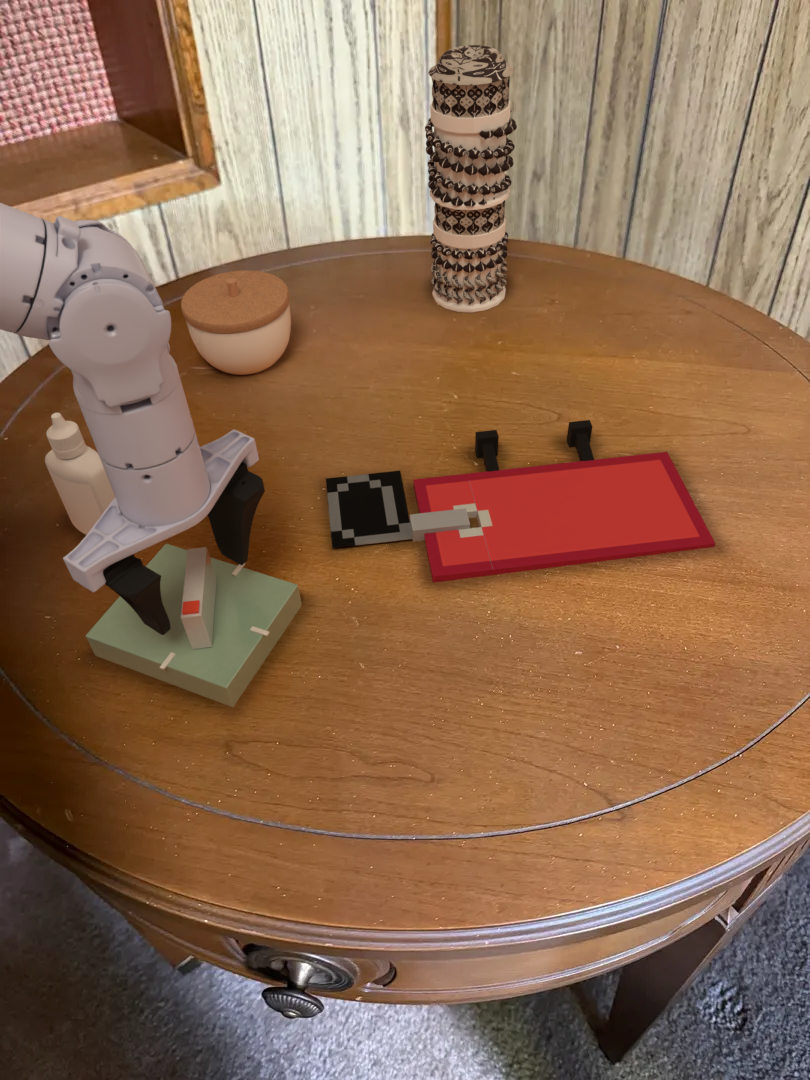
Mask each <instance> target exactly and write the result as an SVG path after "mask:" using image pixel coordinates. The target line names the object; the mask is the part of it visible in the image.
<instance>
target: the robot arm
mask: <svg viewBox="0 0 810 1080" xmlns="http://www.w3.org/2000/svg"><path fill="white" fill-rule="evenodd" d="M0 330H1V331H3V332H7V333H11V334H12V333H13V335H14V334H15V335H19V336H21V337H25V338H30V339H38V340H45V341H48V346H49V348H50V350H51V351H52V353H53V354H54V356H55V357H56V358H57V359H58V361H59V362H60V363H62V364H63V365H64V366H65V367H66V368H68V370H70V371H71V374H72V378H73V379H72V389H73V393H74V397H75V398H76V401H77V404H78V407H79V409H80V411H81V414H82V416H83V419H84V421H85V423H86V426H87V428H88V429H87V430H88V431H89V434H90V436H91V438H92V441H93V444H94V447H95V449H96V452H97V453H98V454H99V457H100V459H101V462H102V464H103V467H104V470H105V472H106V475H107V477H108V480H109V482H110V485H111V487H112V490H113V492H114V495H115V498H114V499H113V500H112V502H111V503H110V504H109V506H108V507H107V508H106V510H105V511H104V512H103V514H102V515H101V516H100V518H99V519H98V520H97V522H96V523H95V524H94V526H93V527H92V528H91V530H90V531H89V532H88V534H87V535H85V536H84V537H83V538H82V540H80V542H79V543H78V544H77V546H75V547H74V548H73V549H72V550H71V551H69V552H68V553H67V554H66V555H65V556H63V557H62V560H63V562H64V564H65V566H66V568H67V570H68V572H69V574H70V576H71V579H72V580H73V581H74V582H75V583H78V584H79V585H80V586H82V587H84V588H85V589H86V590H88V591H90V592H91V593H96V592H97V591H98V590H99V589H100V588H102V587H104V585H105V586H106V587H108V588H109V589H110V590H112V591H113V592H114V593H116V594H117V595H118V597H119V596H120V597H121V598H123V599H124V600H125V601H126V602H127V603H128V604H129V605H130V606H131V607H132V608H133V610H134V611H135V612H136V613H137V614H138V616H139V617H140V618H141V620H142V621H143V623H144V624H145V625H147V626H149V627H150V628H152V629H153V630H155V631H156V632H158V633H159V634H161V635H164V634H166V633H167V632H168V631H169V630H170V629H171V627H170V621H169V618H168V615H167V613H166V611H165V608H164V606H163V603H162V598H161V591H160V581H161V575H159V574H157V573H156V572H154V571H152V570H151V569H149V568H147V567H146V565H144V564H143V561H142V559H141V558H138V557H136V556H135V554H137V553H140V552H141V551H144V550H146V549H148V548H150V547H152V546H154V545H157V544H159V543H162V542H164V541H166V540H167V539H170V538H173V537H174V536H177V535H179V534H181V533H183V532H185V531H188V530H190V529H191V528H194V527H195V526H197V525H198V524H199V523H200V522H202V521H203V520H204V519H205V518H206V517H207V518H208V521H209V524H210V527H211V530H212V534H213V537H214V540H215V543H216V545H217V547H218V548H217V549H218V550H219V551H220V554H221V556H224V557H225V558H228V559H230V560H231V561H232V562H234V563H237V564H238V565H239V564H240V565H243V564H244V563H245V564H246V563H247V562H248V559H249V550H250V540H251V532H252V526H253V521H254V519H255V518H254V517H255V514H256V511H257V509H258V506H259V504H260V501H261V500H262V498H263V496H264V494H265V492H266V489H265V484H264V481H263V478H262V477H261V476H259V475H258V474H256V473H254V472H251V471H250V470H249V469H248V468H251V467H252V466H254V465H255V464H256V463H257V462H259V461H260V457H259V452H258V447H257V443H256V439H255V437H252V436H250V435H249V434H246V433H243V432H241V431H239V430H237V429H231V431H229V432H227V433H225V434H224V435H222V436H220V437H219V438H217V439H215V440H213V441H210V442H208V443H206V444H203V445H201V446H200V444H199V440H198V436H197V433H196V428H195V425H194V422H193V418H192V414H191V411H190V408H189V407H190V406H189V404H188V400H187V397H186V393H185V389H184V386H183V383H182V380H181V375H180V372H179V369H178V365H177V363H176V361H175V359H174V358H173V356H172V355H171V353H170V352H171V346H170V343H169V341H170V337H171V333H172V317H171V312H170V310H167V309H165V306H164V302H163V300H162V298H161V296H160V293H159V292H158V289H157V288H156V286H155V284H154V282H153V280H152V278H151V276H150V274H149V272H148V269H147V268H146V265H145V263H144V261H143V259H142V257H141V256H140V254H139V252H138V251H137V250H136V249H135V247H134V246H133V245H132V244H131V243H130V242H129V241H128V239H126V238H125V237H124V236H123V235H121V234H120V233H118V232H116V231H114V230H112V229H110V228H108V227H107V226H106V225H105V224H104V223H103V222H102V221H99V220H95V219H94V220H93V219H78V220H72V219H69V218H67V217H64V216H61V215H57V216H56V217H55V219H54V222H53V221H50V220H48V219H45V218H42V217H39V216H36V215H34V214H32V213H28V212H26V211H23V210H21V209H18V208H15V207H13V206H10V205H7V204H5V203H2V202H0Z"/></svg>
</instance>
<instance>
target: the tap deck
mask: <svg viewBox="0 0 810 1080" xmlns="http://www.w3.org/2000/svg"><path fill="white" fill-rule="evenodd" d="M187 550H188V549H187V548H186V549H185V548H182V547H179V546H176V545H172V544H171V543H170V544H169V543H165V544H164V545H163V546H162V547H161V548H160V549H159V550H158V552H157V553H156V554H155V555H154V556H153V557H152V559H150V561H149V562H148V563H147V564H146V565H145V566H146V567H147V568H149V569H151V570H152V571H154V572H156V573H157V574H159V575H161V581H160V591H161V598H162V603H163V606H164V608H165V611H166V613H167V615H168V618H169V621H170V627H171V629H170V630H169V631H168V632H167V633H166V634H164V635H161V634H159V633H158V632H156V631H155V630H153V629H152V628H150V627H149V626H147V625H145V624H144V623H143V621H142V620H141V618H140V617H139V616H138V614H137V613H136V612H135V611H134V610H133V608H132V607H131V606H130V605H129V604H128V603H127V602H126V601H125V600H124V599H123V598H121V597H120V596H119V595H118V597H117V598H116V600H115V601H114V602H113V603H112V604H111V605H110V606H109V608H108V609H107V610H106V611H105V613H104V614H103V615H102V616H101V617H100V618H99V619H98V620H97V621H96V622H95V624H94V625H93V626H92V627H91V628H90V629H89V631H88V632H87V633H86V634H85V638H86V640H87V643H88V644H89V646H90V648H91V650H92V652H93V654H94V656H95V657H98V658H101V659H103V660H106V661H108V662H111V663H114V664H116V665H119V666H122V667H124V668H127V669H130V670H132V671H135V672H137V673H141V674H143V675H145V676H148V677H151V678H153V679H156V680H159V681H161V682H164V683H167V684H170V685H172V686H175V687H177V688H180V689H183V690H185V691H188V692H191V693H193V694H196V695H199V696H202V697H204V698H206V699H210V700H212V701H215V702H217V703H220V704H223V705H225V706H228V707H230V708H233V707H235V706H236V704H237V703H238V701H239V700H240V698H241V697H242V695H243V693H244V692H245V691H246V690H247V687H249V685H250V683H251V681H252V680H253V678H254V677H255V676H256V674H257V673H258V671H259V670H260V668H261V666H262V665H263V664H264V662H265V661H266V659H267V658H268V656H269V655H270V653H271V652H272V650H273V649H274V648H275V646H276V644H277V643H278V641H279V640H280V638H281V637H282V636H283V634H284V633H285V631H286V630H287V628H288V627H289V625H290V624H291V622H292V621H293V619H294V617H295V616H296V615H297V613H298V612H299V610H300V609H301V607H302V606H303V602H302V598H301V593H300V589H299V588H300V587H299V585H298V584H297V583H294V582H290V581H287V580H285V579H281V578H278V577H274V576H271V575H269V574H265V573H262V572H259V571H255V570H253V569H249V568H246V567H245V565H246V562H245V563H244V564H243V565H240V564H238V565H237V564H234V563H230V562H227V561H223V560H221V559H217V558H215V557H211V556H210V559H211V563H212V566H213V569H214V572H215V576H216V579H217V580H216V595H215V610H214V625H213V640H212V647H208V648H199V649H192V647H191V644H190V642H189V639H188V636H187V634H186V631H185V628H184V626H183V623H182V620H181V609H182V599H183V589H184V579H185V570H186V560H187Z"/></svg>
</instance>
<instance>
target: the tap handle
mask: <svg viewBox="0 0 810 1080" xmlns="http://www.w3.org/2000/svg"><path fill="white" fill-rule="evenodd" d="M186 550H187V560H186V570H185V579H184V589H183V599H182V609H181V620H182V623H183V626H184V628H185V631H186V634H187V636H188V639H189V642H190V644H191V647H192V649H199V648H208V647H212V640H213V625H214V610H215V595H216V580H217V579H216V576H215V572H214V569H213V566H212V563H211V559H210V557H211V556H210V552H209V550H208V547H207V546H204V547H194V548H188V549H186Z"/></svg>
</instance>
